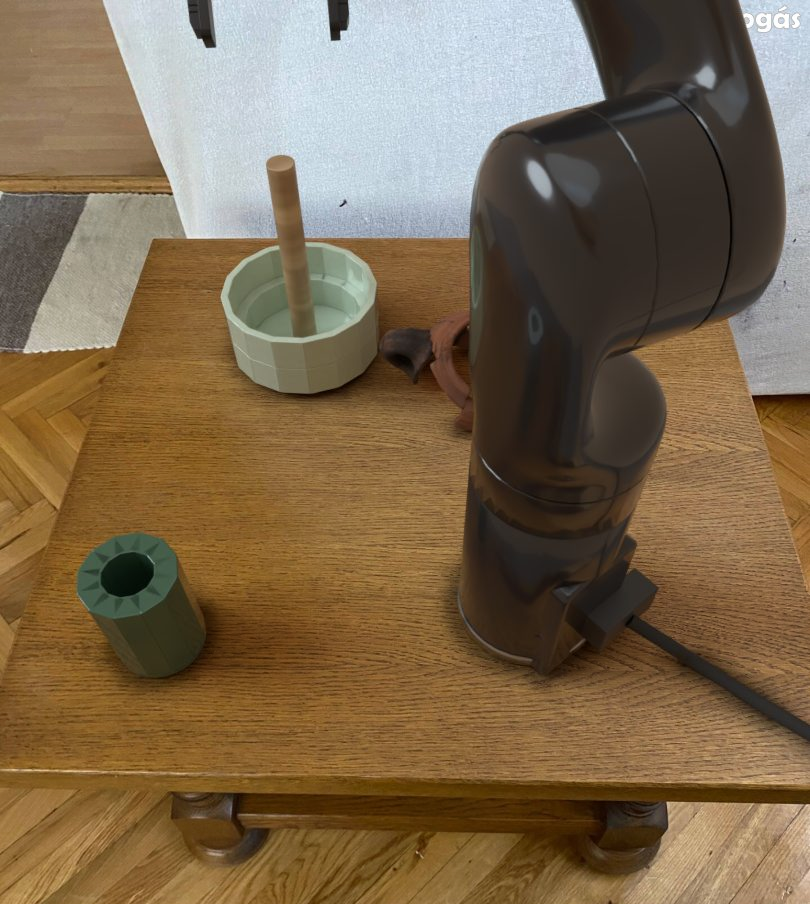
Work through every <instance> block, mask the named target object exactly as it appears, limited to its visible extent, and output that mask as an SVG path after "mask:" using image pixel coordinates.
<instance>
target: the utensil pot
mask: <svg viewBox="0 0 810 904" xmlns="http://www.w3.org/2000/svg"><path fill="white" fill-rule="evenodd" d="M76 596H77V597H78V599H79V601H80V602H81V603H82V605H83V606H84V608H85V609H86V611H87V613H88V614H89V615H90V617H91V618H92V620H93V621H94V623H95V624H96V627H98V629H99V630H100V632H101V633H102V635H103V636H104V638H105V639H106V641H107V642H108V644H109V645H110V647H111V648H112V650H113V651H114V653H115V654H116V655H117V657H118V658H119V659H120V661H121V662H122V664H123V665H124V667H125V668H126V669H128V670H129V671H130V672H132V673H133V674H135V675H137V676H141V677H144V678H150V679H158V678H159V679H160V678H165V677H169V676H172V675H175V674H177V673H180V672H182V671H183V670H185V669H186V668H188V667H189V666H190V665H191V664H192V663H194V662H195V661H196V659H197V658H198V657H199V655H200V653H201V652H202V650H203V648H204V646H205V643H206V639H207V626H206V622H205V617H204V615H203V611H202V609H201V607H200V604H199V603H198V600H197V598H196V595H195V593H194V591H193V589H192V586H191V583H190V582H189V579H188V577H187V575H186V573H185V571H184V568H183V566H182V564H181V561H180V560H179V556H178V555H177V553H176V552H175V551H174V550H173V549H172V547H171V546H170V545H169V544H168V543H167V541H166V540H165V539H164V538H162V537H158V536H155V535H152V534H148V533H144V532H140V531H138V532H133V533H127V534H119V535H114V536H112V537H111V538H109V539H108V540H106V541H104V542H102V543H101V544H99V545H98V546H96V547H94V548H92V549H91V550H90V552H89V553H88V555H87V556H86V557H85V559H84V561H83V562H82V563H81V565H80V567H79V568H78V569H77V573H76Z"/></svg>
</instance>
